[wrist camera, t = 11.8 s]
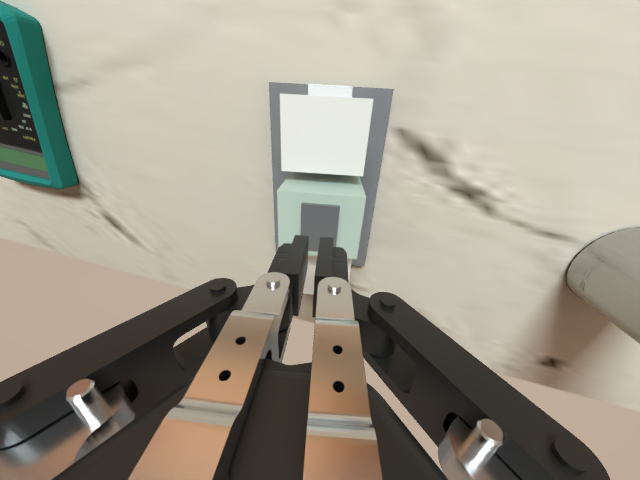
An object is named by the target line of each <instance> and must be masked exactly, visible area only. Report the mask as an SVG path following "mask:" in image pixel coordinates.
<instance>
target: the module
mask: <svg viewBox="0 0 640 480" xmlns="http://www.w3.org/2000/svg"><path fill="white" fill-rule="evenodd" d="M365 202H366V195H365V192H364V189H363V185H362V182H361V179H360V176H349V175H335V174H320V173H305V172H291V173H290V174H289V175H288V177H287V178H286V179H285V181H284V182H283V183H282V185H281V186H280V187H279V189H278V190H277V208H278V245H279V247H280V246H281V245H283V244H284V243H290V244H292V242H293V239H294V236H295V235H303V236H309V247H308V255H312V256H317V255H318V249H319V242H320V237H329V238H333V247H342V248H343V249H344V250H345V251H346V252H347V259H357V255H358V248H359V242H360V235H361V228H362V222H363V215H364V209H365Z"/></svg>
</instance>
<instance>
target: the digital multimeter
mask: <svg viewBox="0 0 640 480" xmlns="http://www.w3.org/2000/svg"><path fill="white" fill-rule="evenodd" d="M0 176H1V177H5V178H8V179H11V180H15V181H18V182H22V183H26V184H31V185H36V186H41V187H47V188H54V189H63V188H67V187H70V186H74V185H77V184H78V180H77V176H76V172H75V168H74V165H73V161H72V158H71V155H70V151H69V148H68V144H67V141H66V137H65V133H64V129H63V125H62V121H61V117H60V113H59V110H58V106H57V101H56V97H55V92H54V87H53V83H52V78H51V74H50V70H49V66H48V61H47V56H46V50H45V45H44V40H43V35H42V30H41V26H40V24H39V22H38V21H37V20H36V19H35V18H34V17H32V16H30V15H28V14H26V13H24V12H22V11H21V10H19V9H17V8H15V7H13V6H11V5H8V4H6V3H4V2H2V1H0Z"/></svg>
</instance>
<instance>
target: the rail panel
mask: <svg viewBox="0 0 640 480" xmlns="http://www.w3.org/2000/svg"><path fill="white" fill-rule="evenodd" d="M269 92H270V117H271V142H272V167H273V193H274V218H275V243H276V252H277V250H278V248H279V245H278V208H277V190H278V189H279V187H280V186H281V185H282V183H283V182H284V181H285V179H286V178H287V177H288V175H289V174H290V173H291V172H305V173H320V174H335V175H349V176H360V179H361V182H362V185H363V189H364V192H365V195H366V202H365V209H364V215H363V222H362V228H361V235H360V242H359V248H358V255H357V259H347V263H348V264H347V265H348V280H349V278H350V270H351V265H355V266H364V265H365V258H366V252H367V246H368V240H369V234H370V228H371V222H372V216H373V210H374V204H375V198H376V192H377V186H378V180H379V174H380V167H381V161H382V155H383V149H384V143H385V137H386V131H387V125H388V119H389V113H390V107H391V101H392V95H393V89H382V88H363V87H353V86H339V85H321V84H291V83H273V82H269ZM316 262H317V256H312V255H308V268H307V274H306V279H305V284H304V289H303V294H313V295H314V277H315V269H316Z"/></svg>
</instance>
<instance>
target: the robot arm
mask: <svg viewBox="0 0 640 480" xmlns="http://www.w3.org/2000/svg"><path fill="white" fill-rule="evenodd" d="M308 247H309V236H303V235H295V236H294V239H293V242H292V244H290V243H284V244H283V245H281V246H280V247H279V248H278V250H277V252H276V255H275V257H274V259H273V261H272V264H271V266H270V268H269V271H268V273H266V274H264V275H262V276H260V277H259V278H258V280H257V281H256V283H255V285H252V286H246V287H239V288H237V286H236V283H235V282H234V281H233V280H231V279H227V278H219V279H214V280H211V281H209V282H207V283H205V284H202V285H200V286H198V287H196V288H194V289H192V290H190V291H188V292H186V293H184V294H182V295H180V296H178V297H175V298H174V299H171V300H169V301H167V302H165V303H163V304H161V305H159V306H157V307H155V308H153V309H151V310H149V311H147V312H144V313H142V314H140V315H138V316H136V317H134V318H132V319H130V320H128V321H126V322H124V323H122V324H120V325H117V326H115V327H113V328H111V329H109V330H107V331H105V332H103V333H101V334H99V335H97V336H95V337H93V338H91V339H88V340H86V341H84V342H82V343H80V344H78V345H76V346H74V347H72V348H70V349H68V350H66V351H64V352H61V353H60V354H58V355H56V356H53V357H51V358H49V359H47V360H45V361H43V362H41V363H39V364H37V365H34V366H33V367H31V368H28V369H26V370H24V371H22V372H20V373H18V374H16V375H14V376H12V377H10V378H8V379H6V380H4V381H2V382H0V480H610V478H609V476H608V473H607V472H606V470H605V468H604V466H603V465H602V463H601V462H600V461H599V459H598V458H597V457H596V456H595V454H594V453H593V452H592V451H591V450H590V449H589V448H588V447H587V446H586V445H585V444H584V443H583V442H581V441H580V440H579V439H578V438H577V437H575V436H574V435H573V434H572V433H570V432H569V431H568V430H566V429H565V428H564V427H563V426H561V425H560V424H559V423H558V422H556V421H555V420H554V419H552V418H551V417H550V416H549V415H547V414H546V413H545V412H544V411H542V410H541V409H540V408H538V407H537V406H536V405H535V404H534V403H532V402H531V401H530V400H529V399H527V398H526V397H525V396H523V395H522V394H521V393H520V392H518V391H517V390H516V389H515V388H513V387H512V386H511V385H509V384H508V383H507V382H506V381H504V380H503V379H502V378H501V377H499V376H498V375H497V374H496V373H494V372H493V371H492V370H491V369H489V368H488V367H487V366H485V365H484V364H483V363H482V362H480V361H479V360H478V359H477V358H475V357H474V356H473V355H472V354H470V353H469V352H468V351H466V350H465V349H464V348H463V347H461V346H460V345H459V344H458V343H456V342H455V341H454V340H453V339H451V338H450V337H449V336H447V335H446V334H445V333H444V332H442V331H441V330H440V329H439V328H437V327H436V326H435V325H434V324H432V323H431V322H430V321H428V320H427V319H426V318H425V317H423V316H422V315H421V314H420V313H418V312H417V311H416V310H415V309H413V308H412V307H411V306H409V305H408V304H407V303H406V302H404V301H403V300H402V299H401V298H399V297H398V296H396V295H394V294H391V293H388V292H378V293H375V294H373V295H372V296H371V297H370V298H368V297H365V296H362V295H360V294H358V293H356V292H354V291H353V290H352V289H351V286H350V284H349V280H348V265H347V264H348V263H347V252H346V251H345V250H344V249H343V248H342V247H333V238H329V237H320V242H319V249H318V255H317V262H316V269H315V277H314V297H313V317H316V318H315V329H314V343H313V356H312V362H311V363H304V364H298V365H285V364H282V360H283V355H284V352H285V348H286V344H287V340H288V336H289V332H290V323H291V321H292V316H293V315H294V316H298V315H299V310H300V305H301V300H302V295H303V289H304V284H305V279H306V274H307V268H308ZM567 284H568V286H569V288H570V289H571V290H572V291H573V292H574V293H575V294H576V295H578V296H579V297H580V298H582V299H583V300H584V301H585V302H587V303H588V304H589V305H591V306H592V307H593V308H594V309H596V310H597V311H598V312H600V313H601V314H602V315H603V316H605V317H606V318H607V319H608V320H610V321H611V322H612V323H613V324H615V325H616V326H617V327H619V328H620V329H621V330H622V331H624V332H625V333H626V334H628V335H629V336H630V337H631V338H633V339H634V340H635V341H637V342H638V343H639V344H640V227H637V228H628V229H624V230H619V231H616V232H613V233H611V234H608V235H605V236H604V237H602V238H600V239H598V240H596V241H594V242H593V243H592V244H590V245H589V246H587V247H586V248H585V249H584V250H583V251H581V252H580V253H579V254H578V255H577V257H576V258H575V259H574V260H573V262H572V263H571V265H570V267H569V269H568V273H567ZM205 321H206V323H207V327H206V328H205V329H203V330H201V331H200V332H198V333H196V334H195V335H193V336H192V337H190V338H188V339H187V340H185V341H184V342H182V343H180V344H179V345H177V346H175V347H174V348H173V345H174V343H175V341H176V340H177V339H178V338H179V337H181V336H182V335H184V334H185V333H187V332H189V331H190V330H192V329H194V328H195V327H197V326H199V325H200V324H202V323H204V322H205ZM363 357H364V358H365V360H366V361H367V362H368V363H369V365H370V366H371V367H372V368H373V370H374V371H375V372H376V373H377V374H378V375H379V377H380V378H381V379H382V380H383V382H384V383H385V384H386V385H387V386H388V388H389V389H390V390H391V391H392V392H393V394H394V395H395V396H396V397H397V398H398V399H399V401H400V402H401V403H402V404H403V406H404V407H405V408H406V409H407V410H408V412H409V413H410V414H411V415H412V416H413V418H414V419H415V420H416V421H417V422H418V423H419V425H420V426H421V427H422V428H423V430H424V431H425V432H426V433H427V434H428V435H429V437H430V438H431V439H432V440H433V442H434V443H435V444H436V445H437V446H438V456H439V462H440V465H441V468H442V470H443V472H444V473H443V472H442V471H441V470H440V468H439V467H438V466H437V465H436V463H435V462H434V461H433V460H432V459H431V457H430V456H429V455H428V454H427V452H426V451H425V450H424V449H423V447H422V446H421V445H420V444H419V443H418V441H417V440H416V439H415V437H414V436H413V435H412V434H411V432H410V431H409V430H408V429H407V427H406V426H405V425H404V424H403V422H402V421H401V420H400V419H399V417H398V416H397V415H396V414H395V413H394V411H393V410H392V409H391V407H390V406H389V405H388V404H387V402H386V401H385V400H384V399H383V398H382V396H381V395H380V394H379V393H378V392H377V391H376V390H375V389H374V388H373V387H372V386H370V385H369V384H368V383H366V376H365V368H364V361H363ZM444 474H445V475H444Z"/></svg>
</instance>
